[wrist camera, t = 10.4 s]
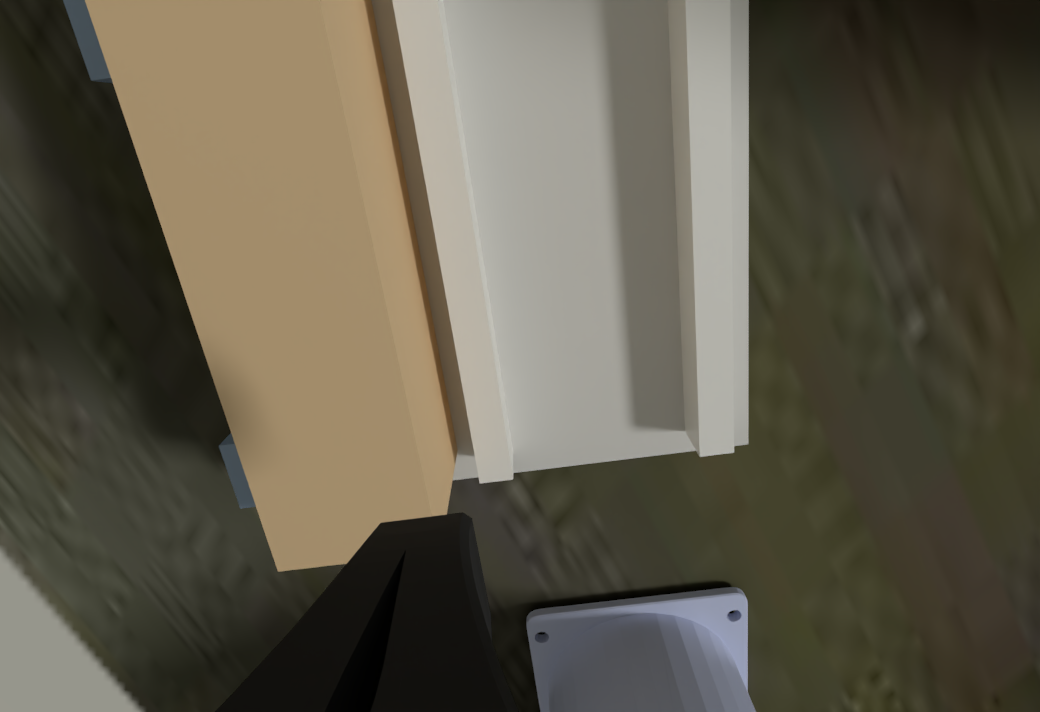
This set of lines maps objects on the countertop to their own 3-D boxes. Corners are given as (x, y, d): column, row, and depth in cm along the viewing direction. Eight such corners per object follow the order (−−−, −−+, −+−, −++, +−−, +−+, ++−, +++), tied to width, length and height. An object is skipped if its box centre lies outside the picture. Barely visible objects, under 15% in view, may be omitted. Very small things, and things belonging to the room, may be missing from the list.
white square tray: (741, 435, 20) (782, 489, 17) (267, 493, 20) (225, 555, 17) (739, -161, 14) (800, -239, 11) (86, -59, 15) (-21, -107, 12)
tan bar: (457, 449, 19) (440, 552, 14) (334, 465, 19) (278, 571, 15) (358, -64, 14) (284, -160, 10) (195, -39, 14) (44, -120, 10)
